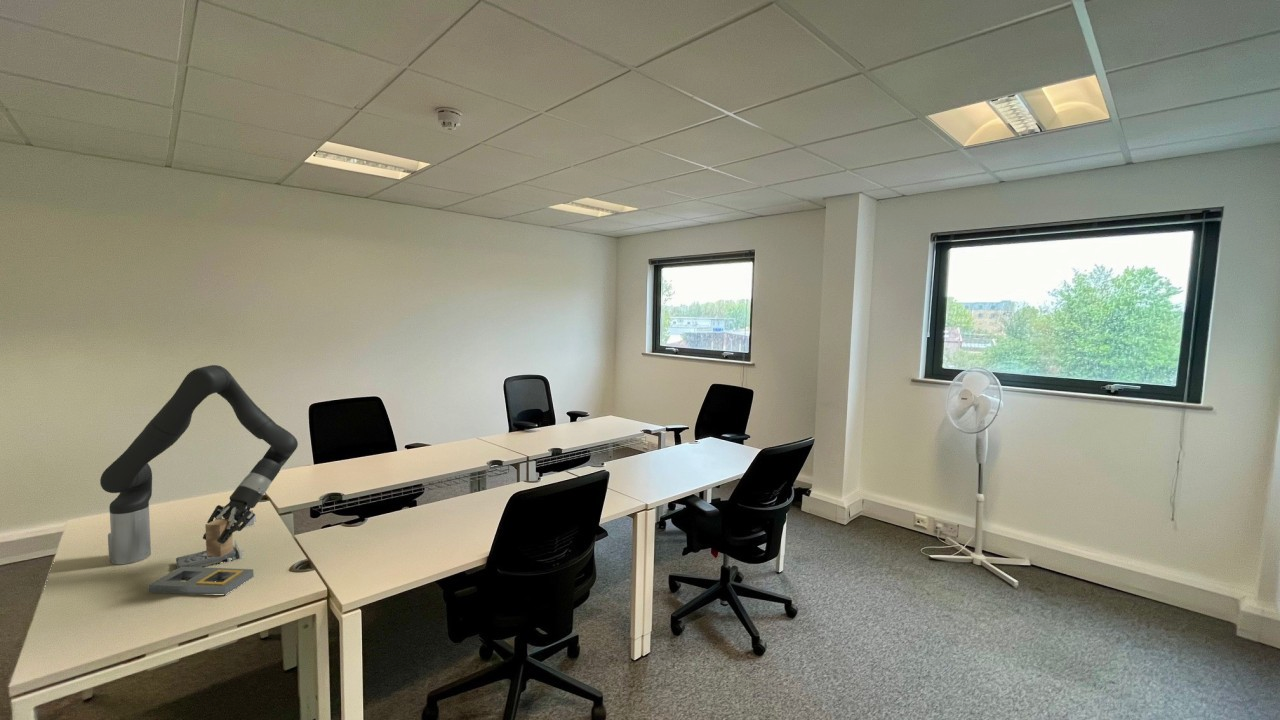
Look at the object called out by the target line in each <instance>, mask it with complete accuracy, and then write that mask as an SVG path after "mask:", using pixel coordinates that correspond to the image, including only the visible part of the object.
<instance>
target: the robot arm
mask: <svg viewBox="0 0 1280 720" xmlns="http://www.w3.org/2000/svg"><path fill="white" fill-rule="evenodd" d="M212 394H218V395H219V396H220V397H222V398H223V399H224V400H225V401H227V403H229V405H230V406H231V407H232V410H233V412H234V415H235V416H236V418H237V420H238V421H239V423H240V424H241V425H242V426H243V427H244V428H245V429H246V430H247V431H248V432H249V433H251V434H252V435H253V436H254V437H255V438H256V439H257V440H263V441H264V442H265V443H266V444H268V445H269V448H268V450H267V451H266V452H265V453H264V455H263V456H262V458H261V459H259V461H257V463H256V464H255V465H254V467H253V468H252V469H251V471H250V472H249V473H248V474H247V475H246V476H245V477H244V478H243V479H242V481H241V482H240V483H239V485H237V487H236V489H234V491H233V492H232V493H231V495H230V496H229V502H228V503H227V504H226V505H224V506H222V505H219V504H218V505H216V506H215V508H214V510H213V512H212V513H211V515H210V517H209V518H208V520H207V522H206V524H208V523H210V522H212V521H214V520H216V519H229V520H228V522H229V524H228V526H227V530H226V529H225V530H224V532H223V533H222V534H221V536H220V537H219V538H218V540H217V542H219V543H222V544H224V543H225V542H226V541H227V540H228V538H229V537H230V536H231V534H232V535H233V533H235V532H241V531H242V530H243V529H244V528H246V527H245V526H246V525H247V524H248V522H249V521H250V520H251V519H252V518H253V517H254V516H255V515H256V514H255V513H254V511H253V512H251V511H250V510H251V509H254V508H255V507H256V506H257V504H258V503H259V502H260V500H261V499H262V498H263V497H264V495H265V494H266V492H267V490H268V489H269V488H270V486H271V484H272V482H274V480H275V478H277V476H278V474H279V473H280V471H281V468H282V467H283V466H284V465H285V464H286V463H287V461H288V460H289V459H290V458H291V456H293V454H294V453H295V451H296V450H297V448H298V445H299V443H298V440H297V438H296V437H295V436H294V435H293V434H292V432H290V431H288V430H287V429H285V428H284V427H282V426H281V425H279V424H277V423H276V422H275V421H274V420H273V419H272V418H271V417H270V416H268V414H266V412H264V411H263V410H262V409H261V408H260V407H259V406H258V405H257V404H256V403H255V402H254V401H253V399H251V398H250V396H249V395H248V394H247V392H246V391H245V390H244V388H242V387H241V385H240V384H239V383H238V382H237V380H236V379H235V377H233V375H232V374H231V373H230V371H229V370H227V369H226V368H225V367H223V366H221V365H219V364H218V365H216V364H211V365H206V366H201V367H198V368H195V369H193V370H191V371H189V372H188V373H187V374H186V375H185V377H184V379H182V382H181V383H180V385H179V386H178V388H177V389H176V390H175V393H173V395H172V397H171V398H170V399H168V400H167V402H166V403H165V404H164V405H163V406H162V408H161V409H160V410H159V411H158V412H157V413H156V414H155V416H153V417H152V419H151V420H150V421H149V422H148V423H147V425H146V426H144V428H143V430H142V431H141V432H140V433H139V434H138V435H137V436H136V438H135V439H134V440H133V441H132V442H131V444H130V445H129V446H128V447H127V449H126V450H125V451H124V452H123V453H122V454H121V455H120V456H118V457H117V458H116V459H115V461H113V462H112V463H111V464H109V466H108V467H107V468H106V469H105V470H103V472H102V474H101V476H100V479H99V482H100V484H99V485H100V487H101V488H102V490H103V491H104V492H107V493H110V494H118V495H117V497H116V498H114V500H113V501H111V502H110V504H109V507H108V508H109V522H110V532H109V533H108V534H107V542H108V543H107V545H108V549H107V550H108V561H109V563H110V562H111V563H112V564H114V565H127V564H132V563H137V562H140V561H143V560H144V559H147V558H148V557H150V556H151V555H152V547H151V541H152V540H151V522H150V521H151V520H150V501H151V498H152V494H153V493H152V492H153V470H152V468H151V466H150V465H149V462H151V461H152V460H154V459H155V458H156V457H158V456H159V455H160V454H162V453H164V452H165V451H166V450H168V449H169V448H170V447H171V446H173V445H174V444H175V443H177V441H178V440H179V439H180V438H181V437H182V435H184V433H185V432H186V431H187V430H188V428H189V426H190V424H191V422H192V416H193V413H194V411H195V410H196V408H197V407H198V406H199V405H200V404H201V403H203V401H204V400H205V399H206V398H208V397H209V396H210V395H212ZM202 539H203V540H205V541H206V532H204V534H203V536H202Z"/></svg>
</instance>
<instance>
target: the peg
mask: <svg viewBox="0 0 1280 720" xmlns="http://www.w3.org/2000/svg"><path fill="white" fill-rule="evenodd" d="M215 519H216V518H215ZM215 519H213V521H212V522H210V523H206V524H205V533H206V540H205V547H206V549H205V551H206V553H207V556H212V557H222V556H223V555H225V554H227V553H229V552H230V551H232V550H233V548H234V544H233V543H234V542H233V540H234V539H233V533H232V534H231V536H230V537H229V538H228V540H227V541H226V542H225V543H224V544H222V543H219V542H217V540H218V538H219V537H220V536H221V534H222V533H223V532H224V530H225V529H226V530H227V526H228V524H229V522H228V520H229V519H224V518H223V519H216V520H215Z"/></svg>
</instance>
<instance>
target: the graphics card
mask: <svg viewBox="0 0 1280 720" xmlns="http://www.w3.org/2000/svg"><path fill="white" fill-rule="evenodd" d="M233 540H234V547H233V550H232V551H230V552H229V553H227V554H225V555H223V556H222V557H212V556H207V553H206V550H202V551H199V552H195V553H190V554H186V555H183V556H178V557H176V558H175V562H176V563H175V565H176V569H178V568H180V567H202V566H204V567H207V566H206V565H208V566H210V565H209V564H213V565H216V564H215V563H217V564H218V563H220V562H223V561H224V562H225V563H224V562H223V564H226V563H231V562H235V561H238V559H239V560H241V559H244V549H240V548H239V547H238V544H237V542H236V539H233ZM231 558H232V560H231ZM226 560H227V561H226ZM234 560H235V561H234ZM223 564H222V563H221V564H220V565H223Z"/></svg>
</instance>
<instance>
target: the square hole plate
mask: <svg viewBox="0 0 1280 720" xmlns="http://www.w3.org/2000/svg"><path fill="white" fill-rule="evenodd" d="M254 574H255V573H254V569H250V568H228V567H227V568H226V567H207V566H204V567H180V568H176V569H174V570H172V571H171V572H169V573H167V574H166V575H163V576H162V577H160V578H158V579H156V580H154V581H153V582H150V583H149V584H147V589H148V591H147V592H148V594H167V595H169V594H170V595H172V594H173V595H190V594H224V595H226V594H227V593H228V592H230V591H232V590H233V589H235V588H236V589H238V588H239V587H241V586H242V585H244V584H245V583H247V582H248V581H249V579H250V580H251V579H252V577H253V578H254ZM186 578H190V579H187V580H186V581H182V580H184V579H186ZM219 579H221V580H220V581H219ZM223 579H225V580H223ZM217 580H218V581H217ZM215 581H216V582H215ZM246 581H247V582H246ZM244 582H245V583H244ZM243 583H244V584H243ZM241 584H242V585H241ZM240 585H241V586H240ZM238 586H239V587H238ZM237 587H238V588H237ZM236 589H235V590H236ZM233 591H234V590H233ZM233 591H232V592H233ZM230 593H231V592H230ZM227 595H228V594H227ZM227 595H226V596H227Z"/></svg>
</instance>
